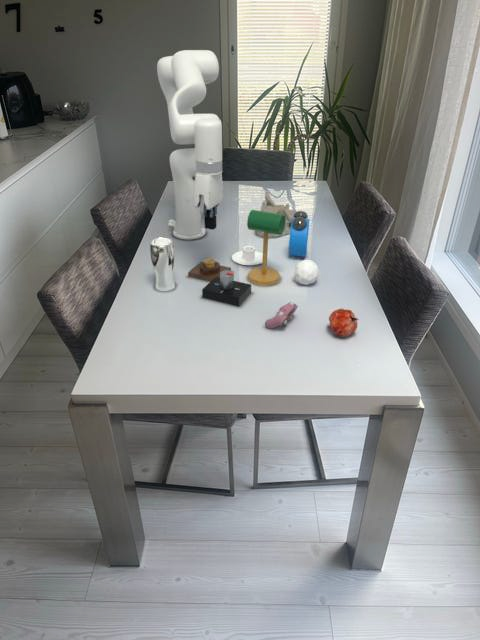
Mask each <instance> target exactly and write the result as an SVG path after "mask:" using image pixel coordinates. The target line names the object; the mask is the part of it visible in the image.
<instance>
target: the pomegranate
mask: <svg viewBox="0 0 480 640" xmlns="http://www.w3.org/2000/svg"><path fill="white" fill-rule="evenodd" d="M359 320H360V319H359V318H357V317H356V315H355V313H354V312H353V311H352V310H351V309H344V308H339V309H335V310H333V311H332V312H331V313H330V314H329V317H328V321H329V328H330V329H331V330H332V332H333V333H334V335H336V336H338V337H343V338H344V337H348V336H350V335H351V334H353V333H355V331H356V330H357V328H358V321H359Z"/></svg>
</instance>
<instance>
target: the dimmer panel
mask: <svg viewBox="0 0 480 640" xmlns="http://www.w3.org/2000/svg"><path fill="white" fill-rule="evenodd" d="M251 294H252V284H251V283H246V282H242V281H237V280H234V287H233V288H232V289H230V290H224V289H221V287H220V277H215V278H214V279H213V280H212V281H211V282H208V283H207V284H206V285H205V286H204V287H203V288H201V295H202V297H201V298H202V299H205V300H210V301H214V302H218V303H222V304H226V305H231V306H234V307H240V306H241V305H242V304H243V303H244V302H245V301H246V300H247V298H248V297H249V296H250V295H251Z"/></svg>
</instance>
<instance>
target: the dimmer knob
mask: <svg viewBox="0 0 480 640" xmlns="http://www.w3.org/2000/svg"><path fill="white" fill-rule="evenodd" d="M234 281H235V273H234V271H232V270H231V271H230V270H224V271H222V272H220V287H221V289H224V290H230V289H232V288H233V287H234Z"/></svg>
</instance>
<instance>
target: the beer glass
mask: <svg viewBox="0 0 480 640" xmlns="http://www.w3.org/2000/svg"><path fill="white" fill-rule="evenodd" d="M149 241H150V242H149V245H150V246H149V247H150V248H149V249H150V250H149V251H150V261H151V264H152V268H153V271H154V274H155V275H154V276H155V285H154V286H155V289H156V290H157V291H161V292H169V291H171V290H174V289H175V287H176V283H175V280H174V267H175V248H174V241H173V240H172V239H171V238H169V237H166V236H165V237H155V238H153V239H151V240H149Z"/></svg>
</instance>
